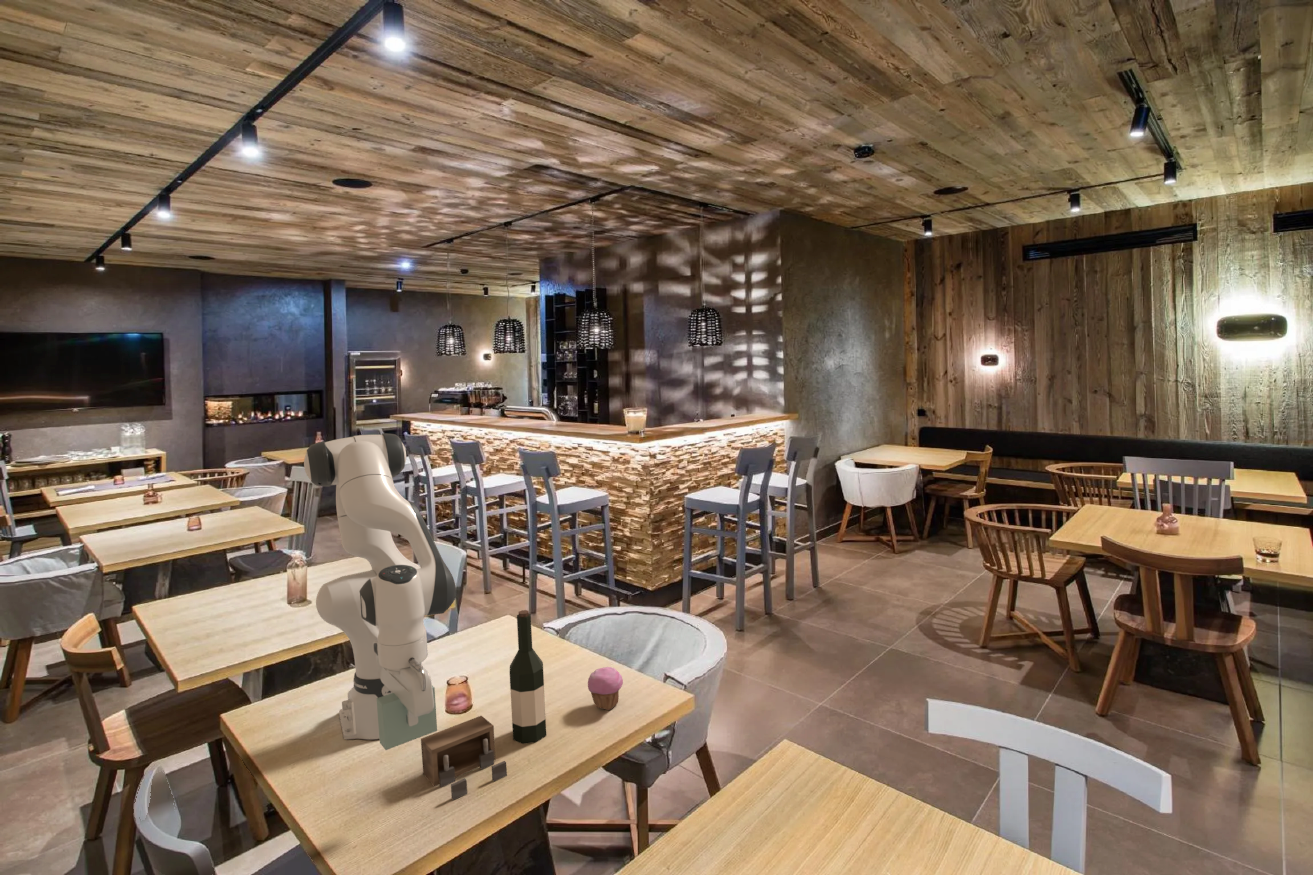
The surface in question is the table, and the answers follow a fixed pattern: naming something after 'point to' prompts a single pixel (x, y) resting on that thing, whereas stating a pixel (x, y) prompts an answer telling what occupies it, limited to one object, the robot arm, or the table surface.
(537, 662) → the wine bottle
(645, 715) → the table surface
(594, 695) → the cupcake
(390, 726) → the door
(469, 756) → the cabinet
